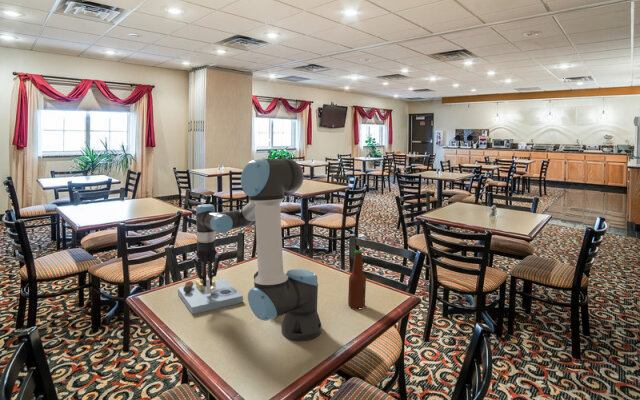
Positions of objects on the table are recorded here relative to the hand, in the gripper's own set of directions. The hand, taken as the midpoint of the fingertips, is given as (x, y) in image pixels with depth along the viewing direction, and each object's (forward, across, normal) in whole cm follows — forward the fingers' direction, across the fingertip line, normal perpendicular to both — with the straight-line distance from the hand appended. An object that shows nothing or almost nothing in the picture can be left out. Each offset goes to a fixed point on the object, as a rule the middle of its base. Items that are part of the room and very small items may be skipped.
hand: (207, 292), depth 162 cm
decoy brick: (+2, +4, -13) cm, 14 cm away
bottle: (+4, -53, +39) cm, 65 cm away
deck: (+5, -2, -4) cm, 6 cm away
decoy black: (+2, +6, -8) cm, 10 cm away
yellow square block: (+1, -2, -10) cm, 10 cm away
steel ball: (-2, -4, 0) cm, 4 cm away
